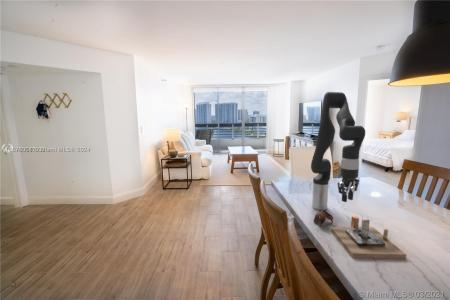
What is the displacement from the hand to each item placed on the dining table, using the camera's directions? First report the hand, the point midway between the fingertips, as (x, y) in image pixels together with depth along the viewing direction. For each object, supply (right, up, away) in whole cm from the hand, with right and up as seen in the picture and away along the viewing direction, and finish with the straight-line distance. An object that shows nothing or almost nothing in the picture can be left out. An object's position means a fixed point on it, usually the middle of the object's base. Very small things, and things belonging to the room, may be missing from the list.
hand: (347, 200), depth 104 cm
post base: (+6, -20, -3) cm, 21 cm away
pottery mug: (-5, -18, +16) cm, 24 cm away
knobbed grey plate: (+6, -17, -2) cm, 18 cm away
